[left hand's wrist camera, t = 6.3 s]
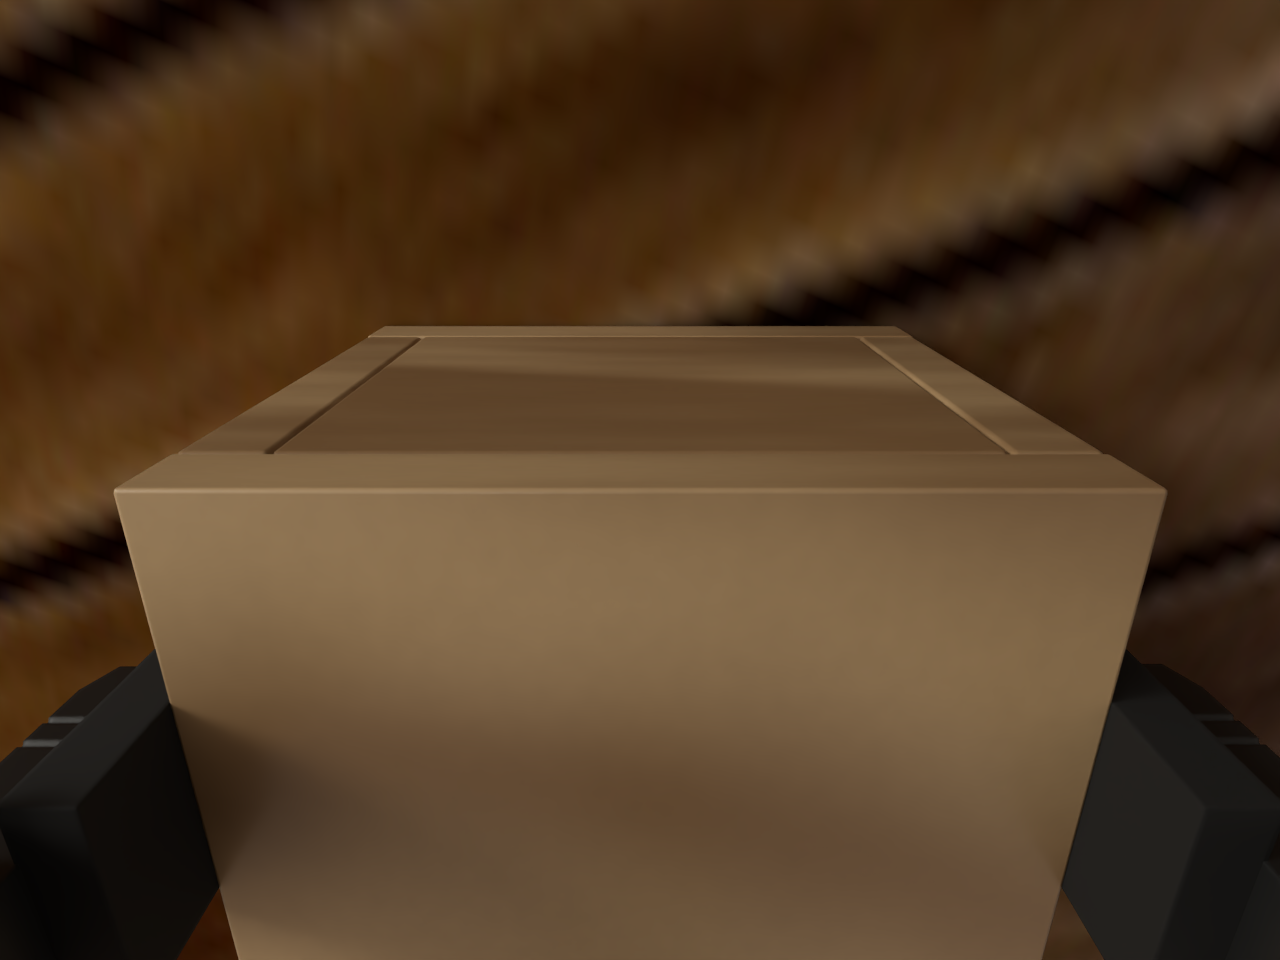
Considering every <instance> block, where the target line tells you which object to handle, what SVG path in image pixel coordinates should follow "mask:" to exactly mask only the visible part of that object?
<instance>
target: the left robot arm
mask: <svg viewBox="0 0 1280 960" xmlns="http://www.w3.org/2000/svg"><path fill="white" fill-rule="evenodd" d="M23 742H24V744H23V746H22V747H17V748H16V749H15V750H13V751H12V752H11V753H10V754H9V755H8V756H7V757H6V758H5V759H4V760H3V761H1V762H0V960H176V959H177V958H178V956H179V954H180V953H181V951H182V949H183V948H184V946H185V944H186V942H187V941H188V939H189V937H190V936H191V934H192V932H193V931H194V929H195V927H196V926H197V924H198V922H199V920H200V919H201V917H202V915H203V914H204V912H205V910H206V909H207V907H208V905H209V903H210V902H211V900H212V898H213V897H214V895H215V893H216V892H217V890H218V888H219V884H218V880H217V876H216V872H215V869H214V865H213V861H212V858H211V854H210V850H209V846H208V843H207V839H206V835H205V831H204V828H203V824H202V820H201V817H200V813H199V809H198V805H197V802H196V798H195V794H194V790H193V787H192V783H191V779H190V776H189V772H188V768H187V764H186V761H185V757H184V753H183V750H182V746H181V742H180V738H179V735H178V731H177V727H176V723H175V720H174V716H173V712H172V709H171V705H170V701H169V697H168V694H167V690H166V686H165V682H164V679H163V675H162V671H161V668H160V664H159V660H158V656H157V653H156V649H154V650H153V651H152V652H151V653H150V654H149V655H148V656H147V657H146V658H145V659H144V660H143V661H142V662H141V663H140V664H139V665H138V666H137V667H118V668H117V669H115V670H113V671H111V672H110V673H108V674H106V675H104V676H103V677H101V678H99V679H98V680H96V681H94V682H92V683H91V684H89V685H87V686H85V687H84V688H82V689H80V690H79V691H78V692H76V693H75V694H74V695H73V696H72V697H71V698H70V699H69V700H68V701H67V702H66V703H65V704H63V705H62V706H61V707H60V708H59V709H58V710H57V711H56V712H55V713H54V714H53V715H51V716H50V717H49V722H48V723H47V724H42V725H41V726H40V727H38V728H37V729H36V730H35V731H34V732H33V733H32V734H31V735H30V736H29V737H28V738H26V739H25V740H24V741H23ZM1062 889H1063V890H1064V892H1065V894H1066V895H1067V897H1068V899H1069V900H1070V902H1071V904H1072V905H1073V907H1074V909H1075V911H1076V912H1077V914H1078V916H1079V917H1080V919H1081V921H1082V922H1083V924H1084V926H1085V928H1086V929H1087V931H1088V933H1089V934H1090V936H1091V938H1092V939H1093V941H1094V943H1095V944H1096V946H1097V948H1098V950H1099V951H1100V953H1101V955H1102V956H1103V958H1104V960H1280V758H1279V757H1278V756H1277V755H1276V754H1275V753H1274V752H1273V751H1272V750H1271V749H1270V748H1268V747H1267V746H1266V745H1260V744H1259V738H1257V737H1256V736H1255V735H1254V734H1253V733H1252V732H1251V731H1250V730H1249V729H1248V728H1247V727H1245V726H1244V725H1243V724H1242V723H1241V722H1240V721H1234V719H1233V715H1232V714H1231V713H1230V712H1229V711H1228V710H1227V709H1226V708H1225V707H1224V706H1222V705H1221V704H1220V703H1219V702H1218V701H1217V700H1216V699H1215V698H1214V697H1213V696H1211V695H1210V694H1209V693H1208V692H1207V691H1206V690H1205V689H1204V688H1203V687H1201V686H1199V685H1197V684H1196V683H1194V682H1192V681H1190V680H1189V679H1187V678H1185V677H1183V676H1182V675H1180V674H1178V673H1176V672H1175V671H1173V670H1171V669H1169V668H1168V667H1166V666H1164V665H1162V664H1141V663H1140V662H1139V661H1138V660H1137V659H1136V658H1135V657H1134V656H1133V655H1132V654H1131V653H1130V652H1129V651H1128V650H1127V649H1126V650H1125V653H1124V657H1123V661H1122V664H1121V668H1120V672H1119V675H1118V679H1117V683H1116V687H1115V690H1114V694H1113V698H1112V701H1111V705H1110V709H1109V713H1108V716H1107V720H1106V724H1105V727H1104V731H1103V735H1102V739H1101V742H1100V746H1099V750H1098V753H1097V757H1096V761H1095V765H1094V768H1093V772H1092V776H1091V779H1090V783H1089V787H1088V790H1087V794H1086V798H1085V802H1084V805H1083V809H1082V813H1081V816H1080V820H1079V824H1078V828H1077V831H1076V835H1075V839H1074V842H1073V846H1072V850H1071V854H1070V857H1069V861H1068V865H1067V868H1066V872H1065V876H1064V880H1063V883H1062Z"/></svg>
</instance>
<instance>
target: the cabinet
mask: <svg viewBox="0 0 1280 960" xmlns="http://www.w3.org/2000/svg"><path fill="white" fill-rule="evenodd" d="M114 496H115V500H116V504H117V507H118V511H119V515H120V519H121V522H122V526H123V530H124V534H125V537H126V541H127V545H128V548H129V552H130V556H131V560H132V563H133V567H134V571H135V574H136V578H137V582H138V586H139V589H140V593H141V597H142V601H143V604H144V608H145V612H146V615H147V619H148V623H149V627H150V630H151V634H152V638H153V642H154V645H155V649H156V653H157V656H158V660H159V664H160V668H161V671H162V675H163V679H164V682H165V686H166V690H167V694H168V697H169V701H170V705H171V709H172V712H173V716H174V720H175V723H176V727H177V731H178V735H179V738H180V742H181V746H182V750H183V753H184V757H185V761H186V764H187V768H188V772H189V776H190V779H191V783H192V787H193V790H194V794H195V798H196V802H197V805H198V809H199V813H200V817H201V820H202V824H203V828H204V831H205V835H206V839H207V843H208V846H209V850H210V854H211V858H212V861H213V865H214V869H215V872H216V876H217V880H218V884H219V887H220V891H221V895H222V899H223V902H224V906H225V910H226V913H227V917H228V921H229V925H230V928H231V932H232V936H233V939H234V943H235V947H236V951H237V954H238V958H239V960H1042V957H1043V954H1044V950H1045V946H1046V943H1047V939H1048V935H1049V931H1050V928H1051V924H1052V920H1053V917H1054V913H1055V909H1056V906H1057V902H1058V898H1059V894H1060V891H1061V887H1062V883H1063V880H1064V876H1065V872H1066V868H1067V865H1068V861H1069V857H1070V854H1071V850H1072V846H1073V842H1074V839H1075V835H1076V831H1077V828H1078V824H1079V820H1080V816H1081V813H1082V809H1083V805H1084V802H1085V798H1086V794H1087V790H1088V787H1089V783H1090V779H1091V776H1092V772H1093V768H1094V765H1095V761H1096V757H1097V753H1098V750H1099V746H1100V742H1101V739H1102V735H1103V731H1104V727H1105V724H1106V720H1107V716H1108V713H1109V709H1110V705H1111V701H1112V698H1113V694H1114V690H1115V687H1116V683H1117V679H1118V675H1119V672H1120V668H1121V664H1122V661H1123V657H1124V653H1125V650H1126V646H1127V642H1128V638H1129V635H1130V631H1131V627H1132V624H1133V620H1134V616H1135V612H1136V609H1137V605H1138V601H1139V598H1140V594H1141V590H1142V586H1143V583H1144V579H1145V575H1146V572H1147V568H1148V564H1149V560H1150V557H1151V553H1152V549H1153V546H1154V542H1155V538H1156V534H1157V531H1158V527H1159V523H1160V520H1161V516H1162V512H1163V509H1164V505H1165V501H1166V497H1167V490H1166V488H1164V487H1163V486H1161V485H1159V484H1158V483H1156V482H1154V481H1153V480H1151V479H1149V478H1148V477H1146V476H1144V475H1143V474H1141V473H1139V472H1138V471H1136V470H1134V469H1132V468H1131V467H1129V466H1127V465H1126V464H1124V463H1122V462H1121V461H1119V460H1117V459H1116V458H1114V457H1112V456H1111V455H1108V454H1103V453H1102V452H1101V451H1100V450H1098V449H1096V448H1095V447H1093V446H1091V445H1090V444H1088V443H1086V442H1085V441H1083V440H1081V439H1080V438H1078V437H1076V436H1075V435H1073V434H1071V433H1070V432H1068V431H1066V430H1065V429H1063V428H1061V427H1060V426H1058V425H1057V424H1055V423H1053V422H1052V421H1050V420H1048V419H1047V418H1045V417H1043V416H1042V415H1040V414H1038V413H1037V412H1035V411H1033V410H1032V409H1030V408H1028V407H1027V406H1025V405H1023V404H1022V403H1020V402H1018V401H1017V400H1015V399H1013V398H1012V397H1010V396H1008V395H1007V394H1005V393H1003V392H1002V391H1000V390H999V389H997V388H995V387H994V386H992V385H990V384H989V383H987V382H985V381H984V380H982V379H980V378H979V377H977V376H975V375H974V374H972V373H970V372H969V371H967V370H965V369H964V368H962V367H960V366H959V365H957V364H955V363H954V362H952V361H950V360H949V359H947V358H945V357H944V356H942V355H940V354H939V353H937V352H936V351H934V350H932V349H931V348H929V347H927V346H926V345H924V344H922V343H921V342H919V341H917V340H916V339H914V338H912V336H911V335H909V334H907V333H906V332H904V331H902V330H901V329H899V328H897V327H895V326H385V327H383V328H381V329H380V330H378V331H376V332H375V333H373V334H371V335H370V336H368V338H367V339H365V340H363V341H362V342H360V343H358V344H357V345H355V346H353V347H352V348H350V349H348V350H347V351H345V352H343V353H342V354H340V355H338V356H337V357H335V358H333V359H332V360H330V361H328V362H327V363H325V364H324V365H322V366H320V367H319V368H317V369H315V370H314V371H312V372H310V373H309V374H307V375H305V376H304V377H302V378H300V379H299V380H297V381H295V382H294V383H292V384H290V385H289V386H287V387H285V388H284V389H282V390H281V391H279V392H277V393H276V394H274V395H272V396H271V397H269V398H267V399H266V400H264V401H262V402H261V403H259V404H257V405H256V406H254V407H252V408H251V409H249V410H247V411H246V412H244V413H242V414H241V415H239V416H238V417H236V418H234V419H233V420H231V421H229V422H228V423H226V424H224V425H223V426H221V427H219V428H218V429H216V430H214V431H213V432H211V433H209V434H208V435H206V436H204V437H203V438H201V439H199V440H198V441H196V442H195V443H193V444H191V445H190V446H188V447H186V448H185V449H183V450H181V451H180V452H179V453H178V454H173V455H170V456H168V457H167V458H165V459H163V460H162V461H160V462H158V463H157V464H155V465H153V466H152V467H150V468H148V469H147V470H145V471H144V472H142V473H140V474H139V475H137V476H135V477H134V478H132V479H130V480H129V481H127V482H125V483H124V484H122V485H120V486H119V487H117V488H115V490H114Z"/></svg>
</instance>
